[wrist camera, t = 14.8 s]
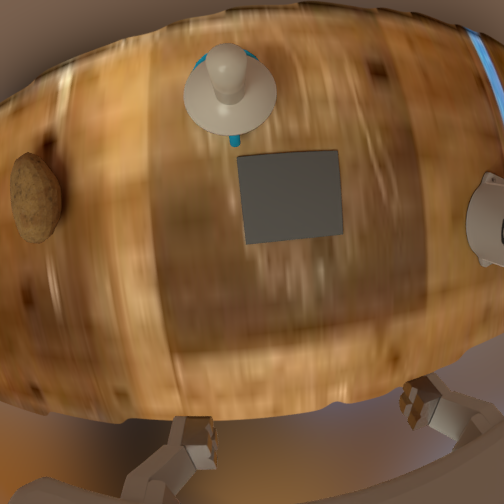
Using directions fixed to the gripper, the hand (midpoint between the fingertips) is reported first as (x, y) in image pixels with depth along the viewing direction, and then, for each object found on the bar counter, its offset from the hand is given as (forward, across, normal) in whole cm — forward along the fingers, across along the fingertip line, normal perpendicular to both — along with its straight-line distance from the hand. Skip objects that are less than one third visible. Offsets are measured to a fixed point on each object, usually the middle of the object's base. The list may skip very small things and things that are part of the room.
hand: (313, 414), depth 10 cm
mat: (+31, -5, -6) cm, 32 cm away
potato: (+31, +33, -12) cm, 47 cm away
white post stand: (+23, +2, -19) cm, 30 cm away
